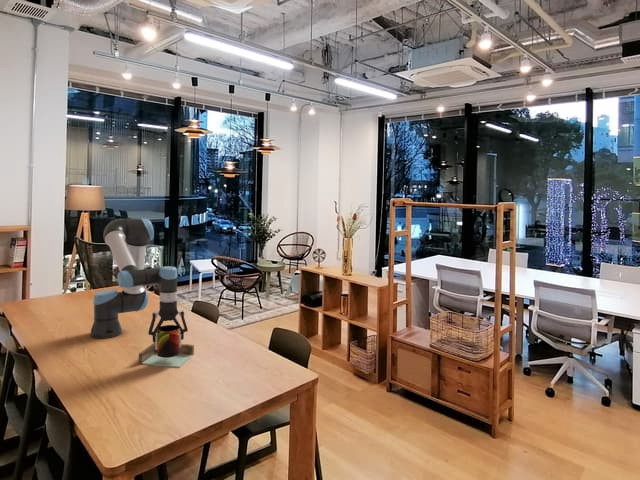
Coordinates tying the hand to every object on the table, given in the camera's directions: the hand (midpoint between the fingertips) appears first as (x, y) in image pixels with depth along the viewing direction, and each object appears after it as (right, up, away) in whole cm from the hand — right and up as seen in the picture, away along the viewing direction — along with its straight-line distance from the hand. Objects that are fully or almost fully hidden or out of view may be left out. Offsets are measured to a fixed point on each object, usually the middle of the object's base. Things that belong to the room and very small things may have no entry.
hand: (168, 347), depth 196 cm
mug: (0, -2, 0) cm, 2 cm away
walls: (-2, -7, +4) cm, 8 cm away
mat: (-1, -7, +3) cm, 7 cm away
